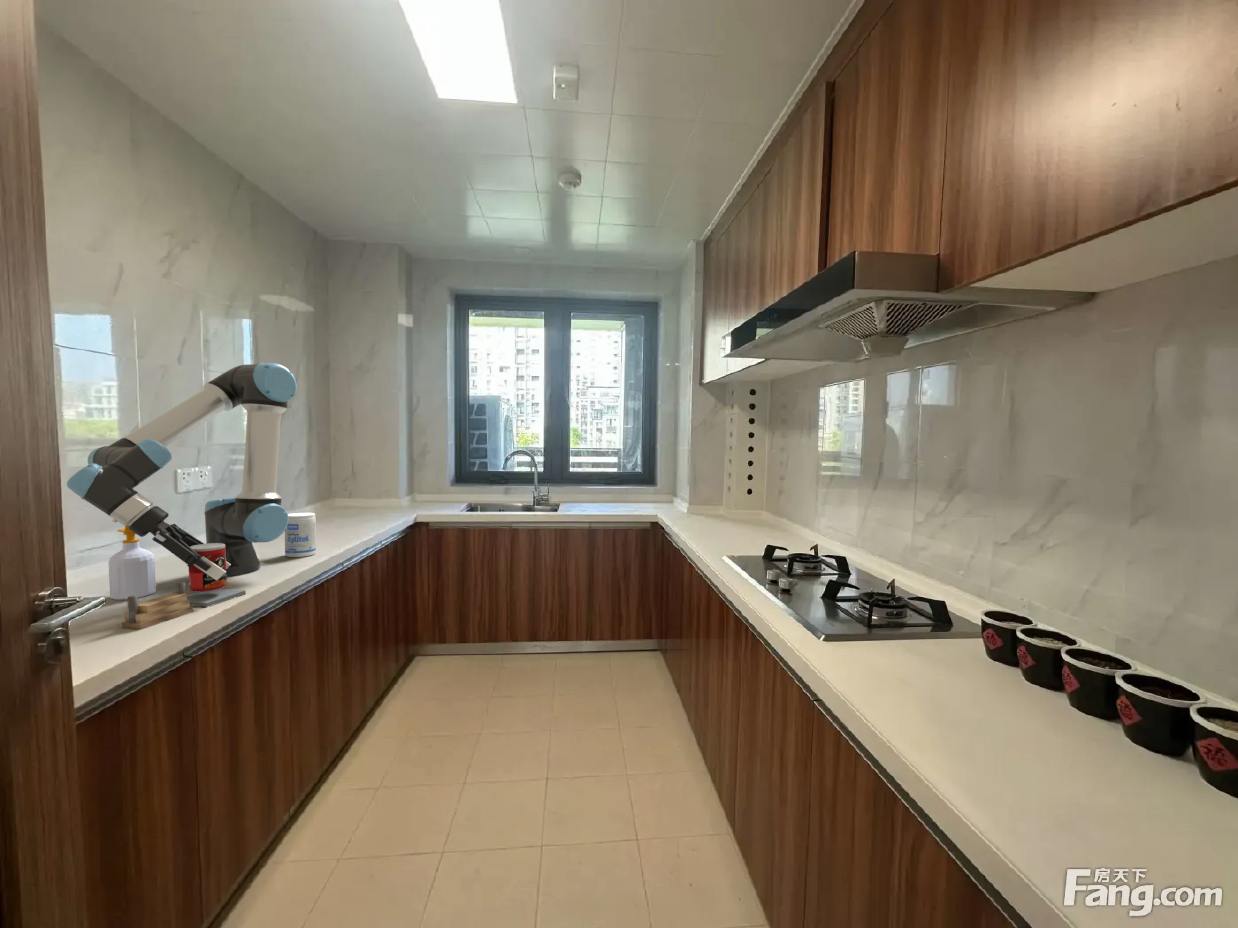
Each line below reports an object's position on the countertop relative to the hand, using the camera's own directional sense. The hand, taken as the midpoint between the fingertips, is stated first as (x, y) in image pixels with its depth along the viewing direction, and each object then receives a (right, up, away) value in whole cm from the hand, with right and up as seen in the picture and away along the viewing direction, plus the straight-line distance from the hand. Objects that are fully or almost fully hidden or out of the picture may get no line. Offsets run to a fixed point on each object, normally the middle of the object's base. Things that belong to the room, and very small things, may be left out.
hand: (224, 572), depth 140 cm
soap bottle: (-26, -7, +2) cm, 27 cm away
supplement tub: (-10, -4, +50) cm, 51 cm away
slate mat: (-3, -7, -1) cm, 7 cm away
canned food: (-3, -4, -1) cm, 5 cm away
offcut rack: (-3, -8, -17) cm, 18 cm away
